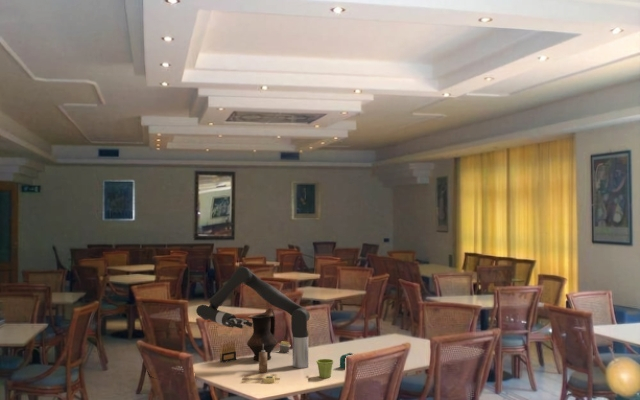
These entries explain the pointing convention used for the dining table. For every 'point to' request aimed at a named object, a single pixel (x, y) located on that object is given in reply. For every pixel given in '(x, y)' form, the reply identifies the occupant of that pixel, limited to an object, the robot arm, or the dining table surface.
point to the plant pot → (325, 367)
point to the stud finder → (269, 379)
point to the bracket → (343, 360)
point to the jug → (263, 333)
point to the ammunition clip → (228, 352)
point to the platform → (284, 346)
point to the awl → (263, 361)
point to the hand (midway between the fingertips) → (247, 325)
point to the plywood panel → (258, 378)
